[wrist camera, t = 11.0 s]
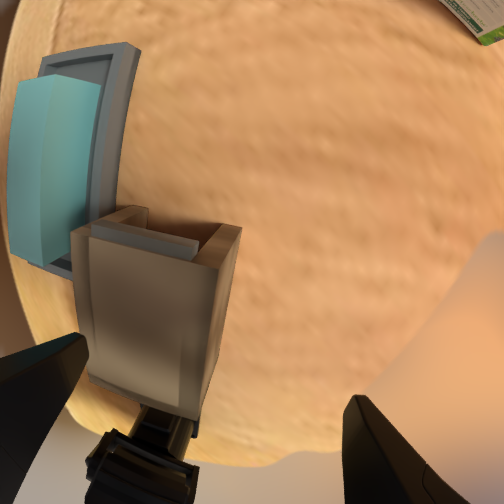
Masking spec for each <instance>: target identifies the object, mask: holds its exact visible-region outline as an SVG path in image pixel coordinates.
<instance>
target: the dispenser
mask: <svg viewBox="0 0 504 504" xmlns="http://www.w3.org/2000/svg"><path fill="white" fill-rule="evenodd" d="M147 218H148V208H145V207H140V206H135V205H132V206H129V207H127V208H124V209H122V210H119V211H117V212H114V213H112V214H110V215H107V216H105V217H103V218H100V219H98V220H96V221H93V222H91V223H89V224H86V225H84V226H82V227H80V228H77V229H75V230H73V231H71V232H70V239H71V262H72V276H73V287H74V296H75V304H76V312H77V319H78V325H79V332H80V334H82V335H84V336H85V337H86V340H87V345H88V349H89V359H88V361H87V363H86V367H87V371H88V375H89V379H90V382H91V383H93V384H95V385H98V386H100V387H102V388H104V389H107V390H109V391H111V392H114V393H116V394H119V395H121V396H123V397H126V398H129V399H131V400H134V401H136V402H139V403H142V404H144V405H147V406H150V407H153V408H156V409H159V410H162V411H165V412H168V413H171V414H174V415H178V416H181V417H184V418H188V419H191V420H195V421H197V420H198V417H199V414H200V411H201V408H202V405H203V402H204V399H205V396H206V393H207V390H208V387H209V384H210V381H211V378H212V374H213V371H214V368H215V365H216V362H217V359H218V356H219V350H220V345H221V339H222V333H223V328H224V322H225V317H226V311H227V306H228V301H229V295H230V290H231V284H232V279H233V274H234V269H235V263H236V258H237V253H238V248H239V242H240V237H241V232H242V228H241V227H236V226H232V225H227V224H222V225H221V226H220V227H219V229H218V230H217V231H216V232H215V233H214V234H213V236H212V237H211V238H210V239H209V240H208V241H207V243H206V244H205V245H204V246H203V247H202V248H201V250H200V251H199V252H198V246H199V241H197V240H193V239H188V238H184V237H179V236H175V235H170V234H166V233H161V232H157V231H153V230H148V229H147Z"/></svg>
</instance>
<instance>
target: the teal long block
mask: <svg viewBox="0 0 504 504" xmlns="http://www.w3.org/2000/svg"><path fill="white" fill-rule="evenodd" d="M100 88H101V85H98V84H95V83H91V82H87V81H83V80H79V79H75V78H70V77H66V76H61V75H57V74H54V75H49V76H43V77H39V78H34V79H29V80H25V81H21V82H19V84H18V88H17V93H16V98H15V103H14V109H13V115H12V122H11V130H10V138H9V149H8V163H7V219H8V234H9V245H10V253H11V254H14V255H16V256H18V257H20V258H23V259H25V260H27V261H30V262H32V263H35V264H37V265H39V266H42V267H44V266H46V265H48V264H49V263H51V262H53V261H54V260H56V259H58V258H60V257H61V256H63V255H65V254H67V253H68V252H70V251H71V239H70V232H71V231H73V230H75V229H77V228H80V227H82V226H84V225H85V204H86V186H87V174H88V163H89V154H90V146H91V138H92V132H93V125H94V119H95V113H96V108H97V103H98V98H99V93H100Z"/></svg>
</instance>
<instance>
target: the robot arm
mask: <svg viewBox="0 0 504 504" xmlns="http://www.w3.org/2000/svg"><path fill="white" fill-rule="evenodd" d="M88 359H89V349H88V345H87V340H86V337H85V336H84V335H82V334H80V333H77V332H73V333H71V334H68V335H65V336H62V337H59V338H57V339H54V340H51V341H48V342H45V343H42V344H40V345H37V346H34V347H31V348H28V349H25V350H22V351H19V352H17V353H14V354H11V355H8V356H5V357H2V358H0V504H13V502H14V499H15V497H16V495H17V493H18V491H19V489H20V487H21V484H22V482H23V480H24V478H25V476H26V473H27V472H28V470H29V468H30V466H31V464H32V462H33V460H34V458H35V456H36V455H37V453H38V451H39V449H40V447H41V445H42V443H43V441H44V440H45V438H46V436H47V434H48V433H49V431H50V429H51V427H52V426H53V424H54V422H55V420H56V419H57V417H58V415H59V413H60V412H61V410H62V409H63V407H64V405H65V404H66V402H67V400H68V399H69V397H70V395H71V394H72V392H73V390H74V388H75V386H76V384H77V382H78V380H79V378H80V376H81V374H82V372H83V369H84V367H85V365H86V363H87V361H88ZM140 406H141V411H140V413H139V415H138V417H137V419H136V421H135V423H134V425H133V427H132V428H131V430H130V432H129V434H128V436H126V435H124V434H122V433H120V432H118V430H117V429H115V428H113V429H112V430H111V432H105V434H104V435H103V437H102V439H101V440H100V442H99V444H98V445H97V446H96V447H95V448H94V450H93V451H92V452H91V453H90V454H89V456H87V458H86V460H85V462H86V465H87V467H88V468H87V475H86V479H87V480H89V481H91V484H90V486H89V488H88V491H87V493H86V495H85V502H84V503H85V504H193V503H194V499H195V494H196V488H197V481H198V474H199V468H200V467H199V466H195V465H194V466H193V465H191V464H188V463H185V462H183V459H184V456H185V453H186V450H187V447H188V444H189V441H190V438H197V436H198V431H199V423H200V416H201V411H200V414H199V417H198V420H197V421H195V420H191V419H188V418H184V417H181V416H178V415H174V414H171V413H168V412H165V411H162V410H159V409H156V408H153V407H150V406H147V405H144V404H142V403H140ZM112 452H113V453H112ZM342 466H343V480H344V498H345V504H470V503H469V502H468V501H467V500H465V499H464V498H463V497H462V496H460V494H458V493H457V492H456V491H455V490H454V489H452V488H451V487H450V486H449V485H448V484H447V483H446V482H445V481H444V480H442V478H440V476H439V475H438V474H436V472H435V471H434V470H433V469H432V468H431V467H430V466H429V465H428V464H426V461H425V460H424V459H423V458H422V457H421V456H420V455H419V454H418V453H417V452H416V451H415V450H414V448H413V447H412V446H411V445H410V444H409V443H408V442H407V441H406V439H405V438H404V437H403V436H402V435H401V434H400V433H399V432H398V431H397V429H396V428H395V427H394V426H393V425H392V424H391V423H390V422H389V420H388V419H387V418H386V417H385V416H384V415H383V414H382V413H381V412H380V411H379V409H378V408H377V407H376V406H375V405H374V404H373V403H372V401H371V400H370V399H369V398H368V397H367V396H366V395H353V396H352V398H351V399H350V401H349V403H348V405H347V406H346V408H345V410H344V413H343V433H342Z"/></svg>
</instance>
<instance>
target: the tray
mask: <svg viewBox="0 0 504 504" xmlns="http://www.w3.org/2000/svg"><path fill="white" fill-rule="evenodd" d="M140 54H141V50H139V49H138V48H136V47H134V46H133V45H131V44H129V43H127V42H122V43H113V44H106V45H99V46H92V47H87V48H81V49H76V50H71V51H66V52H62V53H58V54H53V55H49V56H46V57H43V58H42V61H41V65H40V69H39V73H38V77H37V78H39V77H43V76H49V75H54V74H57V75H61V76H66V77H70V78H75V79H79V80H83V81H87V82H91V83H95V84H98V85H101V88H100V93H99V98H98V103H97V108H96V113H95V119H94V125H93V132H92V138H91V146H90V154H89V163H88V174H87V186H86V204H85V225H86V224H89V223H91V222H93V221H96V220H98V219H100V218H103V217H105V216H107V215H110V214H112V213H114V212H115V205H116V192H117V181H118V171H119V162H120V155H121V147H122V140H123V134H124V128H125V122H126V116H127V111H128V106H129V101H130V96H131V91H132V87H133V82H134V78H135V74H136V70H137V66H138V62H139V58H140ZM28 263H29V264H31V265H33V266H36V267H38V268H41V269H43V270H45V271H48V272H51V273H53V274H56V275H58V276H61V277H63V278H66V279H69V280H71V281H73V276H72V262H71V251H70V252H68V253H67V254H65V255H63V256H61V257H60V258H58V259H56V260H54V261H53V262H51V263H49V264H48V265H46V266H44V267H42V266H39V265H37V264H35V263H32V262H30V261H28Z"/></svg>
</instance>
